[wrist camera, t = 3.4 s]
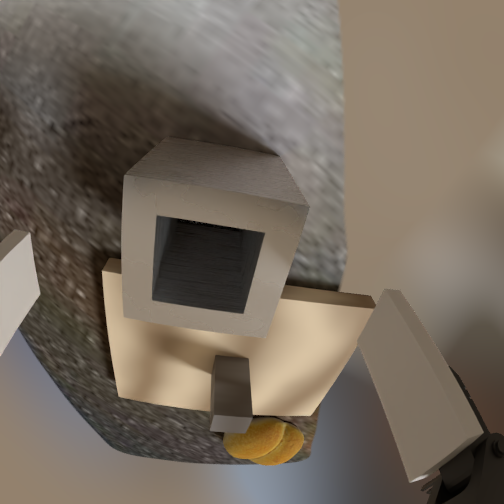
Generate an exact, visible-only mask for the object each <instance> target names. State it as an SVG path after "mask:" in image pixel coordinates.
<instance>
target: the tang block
mask: <svg viewBox="0 0 504 504" xmlns="http://www.w3.org/2000/svg"><path fill="white" fill-rule="evenodd" d="M102 278H103V291H104V302H105V312H106V321H107V329H108V336H109V343H110V350H111V357H112V363H113V369H114V374H115V380H116V385H117V390H118V395H119V397H122V398H127V399H132V400H137V401H142V402H148V403H154V404H159V405H166V406H172V407H179V408H186V409H194V410H203V411H210V431H215V432H228V433H244V434H245V433H246V431H247V429H248V427H249V425H250V423H251V421H252V419H253V415H273V416H311V414H312V413H313V412H314V410H315V409H316V408H317V406H318V405H319V403H320V402H321V400H322V399H323V398H324V396H325V395H326V393H327V391H328V390H329V389H330V387H331V386H332V384H333V383H334V381H335V380H336V378H337V377H338V375H339V374H340V372H341V371H342V369H343V368H344V366H345V364H346V363H347V361H348V360H349V358H350V357H351V355H352V353H353V352H354V350H355V348H356V347H357V345H358V343H357V340H358V338H359V336H360V334H361V333H362V331H363V329H364V327H365V325H366V323H367V322H368V320H369V318H370V316H371V314H372V312H373V310H374V309H375V307H376V304H375V302H374V301H373V299H372V297H371V296H368V295H360V294H351V293H343V292H335V291H327V290H320V289H312V288H304V287H297V286H289V285H284V288H283V291H282V294H281V297H280V299H279V302H278V305H277V308H276V311H275V314H274V317H273V320H272V322H271V325H270V328H269V331H268V334H267V336H266V338H259V337H250V336H241V335H233V334H225V333H217V332H209V331H202V330H195V329H188V328H182V327H175V326H169V325H163V324H157V323H151V322H146V321H140V320H135V319H129V318H124V315H123V297H122V263H121V259H115V258H109V259H108V261H107V263H106V265H105V266H104V268H103V270H102Z"/></svg>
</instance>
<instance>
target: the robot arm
mask: <svg viewBox="0 0 504 504" xmlns="http://www.w3.org/2000/svg"><path fill="white" fill-rule="evenodd" d="M39 295H40V290H39V285H38V280H37V275H36V269H35V264H34V258H33V251H32V244H31V236H30V232H25V231H19V230H14V231H13V232H12V233H11V234H9V235H8V236H7V237H6V238H5V239H4V240H3V241H2V242H1V243H0V356H1V355H2V353H3V351H4V349H5V348H6V346H7V344H8V343H9V341H10V339H11V338H12V336H13V335H14V333H15V331H16V330H17V328H18V327H19V325H20V324H21V322H22V320H23V319H24V317H25V316H26V314H27V313H28V311H29V310H30V308H31V307H32V305H33V304H34V302H35V301H36V300H37V298H38V297H39ZM357 343H358V345H359V348H360V350H361V352H362V355H363V357H364V360H365V362H366V365H367V367H368V370H369V372H370V375H371V377H372V380H373V382H374V385H375V388H376V390H377V393H378V395H379V398H380V400H381V403H382V406H383V408H384V411H385V414H386V416H387V419H388V422H389V424H390V427H391V430H392V433H393V435H394V438H395V441H396V444H397V447H398V450H399V453H400V456H401V458H402V462H403V465H404V468H405V471H406V474H407V476H408V480H409V482H413V481H417V480H420V479H423V478H426V477H428V476H429V475H431V474H432V473H434V472H435V471H437V470H438V469H439V470H440V473H441V474H440V475H438V476H437V477H436V478H434V479H432V480H431V481H429V482H428V483H426V484H425V485H424V486H423V487H422V489H421V491H424V490H426V489H428V488H429V487H431V486H432V485H433V487H432V488H431V489H429V490H428V491H427V494H430V496H429V499H428V502H427V504H504V436H503V435H501V434H499V433H493V434H490V432H489V431H488V429H487V427H486V425H485V423H484V421H483V419H482V417H481V415H480V413H479V411H478V410H477V407H476V406H475V404H474V402H473V400H472V399H470V397H471V396H470V395H469V393H468V391H467V390H465V386H464V384H463V382H462V380H461V379H460V377H459V375H458V374H457V373H456V372H455V371H454V370H453V369H452V368H451V367H450V366H448V365H447V363H446V362H445V360H444V358H443V356H442V355H441V353H440V351H439V350H438V348H437V346H436V345H435V343H434V342H433V340H432V338H431V337H430V335H429V334H428V332H427V331H426V329H425V327H424V326H423V324H422V323H421V321H420V320H419V318H418V316H417V315H416V313H415V312H414V310H413V309H412V307H411V306H410V304H409V303H408V301H407V300H406V299H405V297H404V296H403V294H402V293H401V291H399V290H391V289H384V291H383V293H382V295H381V297H380V299H379V301H378V303H377V305H376V307H375V309H374V310H373V312H372V314H371V316H370V318H369V320H368V322H367V323H366V325H365V327H364V329H363V331H362V333H361V334H360V336H359V338H358V340H357Z"/></svg>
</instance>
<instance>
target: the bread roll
mask: <svg viewBox="0 0 504 504" xmlns="http://www.w3.org/2000/svg"><path fill="white" fill-rule="evenodd" d="M303 441H304V436H303V434H302V432H301V431H300V430H299V429H298V428H297V427H296V426H294V425H292V424H290V423H286V422H283V421H282V420H280V419H277V418H274V417H259V418H253V419H252V421H251V423H250V425H249V427H248V429H247V431H246V433H245V434H244V433H228V432H225V433H224V437H223V443H224V447H225V449H226V450H227V452H228V453H229V454H231V455H232V456H233V457H237V458H241V459H250V460H251V461H253V462H255V463H258V464H261V465H277V464H281V463H283V462H286V461H288V460H289V459H291V458H292V457H293V456H294V455H295V454H296V453H297V452H298V451H299V450H300V448H301V447H302V444H303Z"/></svg>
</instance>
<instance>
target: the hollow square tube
mask: <svg viewBox="0 0 504 504" xmlns="http://www.w3.org/2000/svg"><path fill="white" fill-rule="evenodd" d="M309 208H310V206H309V204H308V202H307V201H306V199H305V197H304V195H303V194H302V192H301V190H300V189H299V187H298V185H297V184H296V182H295V180H294V179H293V177H292V175H291V174H290V172H289V170H288V169H287V167H286V165H285V164H284V162H283V161H282V159H281V157H280V156H276V155H272V154H267V153H262V152H257V151H252V150H247V149H242V148H236V147H231V146H225V145H220V144H214V143H208V142H201V141H195V140H188V139H181V138H174V137H166V138H165V139H164V140H162V141H161V142H160V143H159V144H158V145H157V146H155V147H154V148H153V149H152V150H151V151H150V152H149V153H148V154H146V155H145V156H144V157H143V158H142V159H141V160H140V161H139V162H138V163H137V164H135V165H134V166H133V167H132V168H131V169H130V170H129V171H128V172H127V173H126V174H125V175H124V183H123V201H122V236H121V263H122V297H123V315H124V318H129V319H135V320H140V321H146V322H151V323H157V324H163V325H169V326H175V327H182V328H188V329H195V330H202V331H209V332H217V333H225V334H233V335H241V336H250V337H259V338H266V336H267V334H268V331H269V328H270V325H271V322H272V320H273V317H274V314H275V311H276V308H277V305H278V302H279V299H280V297H281V294H282V291H283V288H284V285H285V282H286V279H287V276H288V273H289V270H290V267H291V264H292V261H293V258H294V255H295V252H296V249H297V246H298V243H299V239H300V236H301V233H302V230H303V227H304V224H305V221H306V218H307V214H308V211H309ZM178 218H179V219H185V220H192V221H198V222H204V223H210V224H216V225H222V226H228V227H234V228H240V231H239V232H236V231H230V230H224V229H218V228H212V227H206V226H200V225H193V224H187V223H181V222H178Z"/></svg>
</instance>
